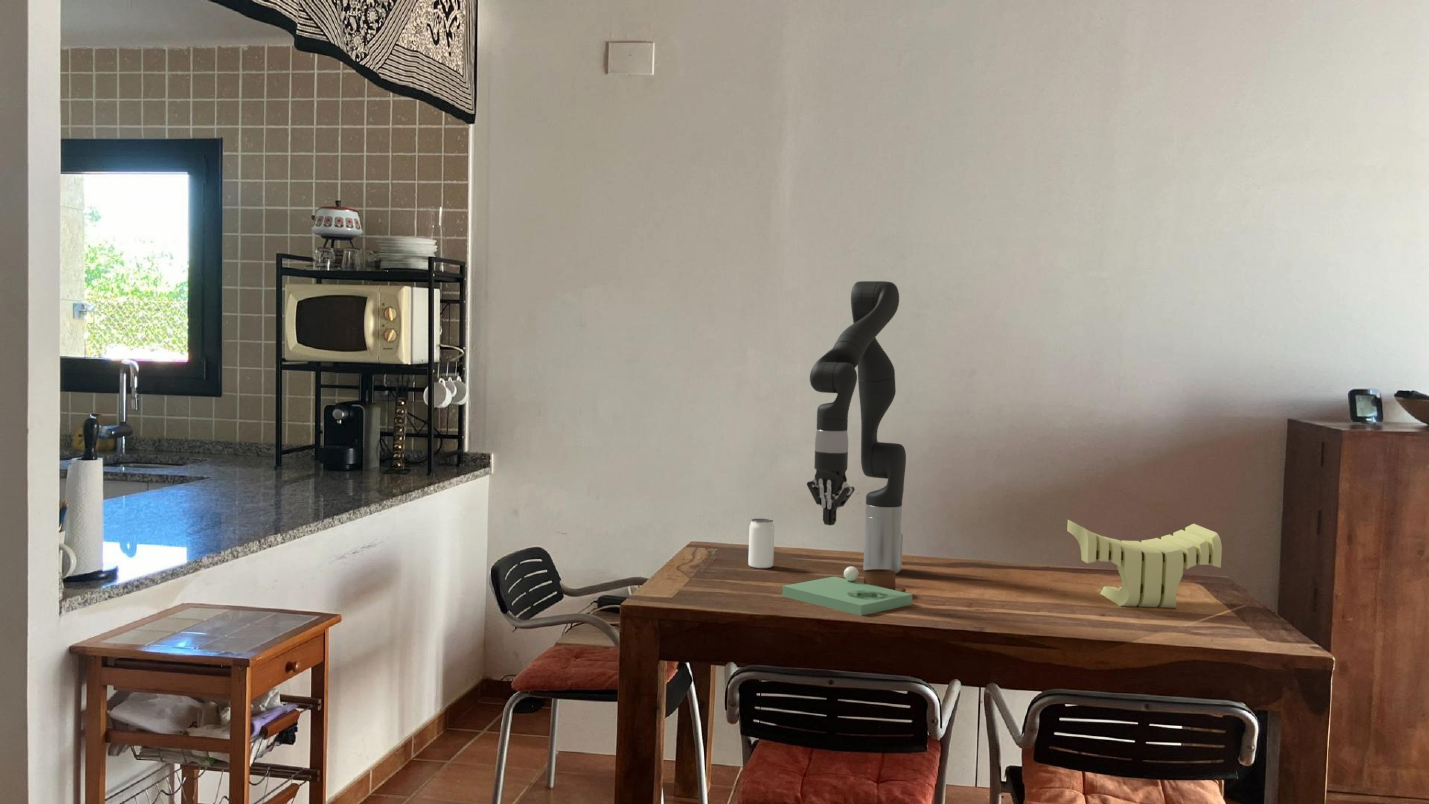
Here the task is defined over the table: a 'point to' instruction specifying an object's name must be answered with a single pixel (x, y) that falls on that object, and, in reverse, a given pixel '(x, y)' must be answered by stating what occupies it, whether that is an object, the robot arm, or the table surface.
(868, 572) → the brown cylindrical stub
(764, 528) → the can
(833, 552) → the table surface
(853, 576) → the ball
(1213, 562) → the slatted curved stool
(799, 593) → the green
